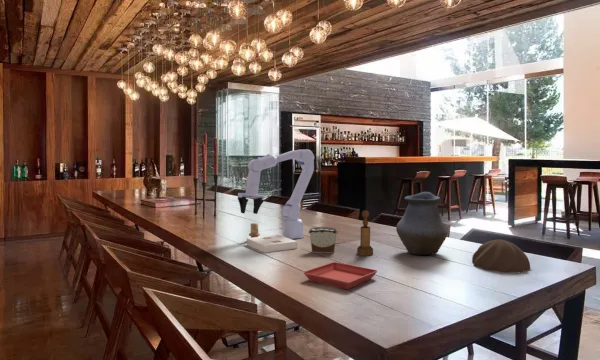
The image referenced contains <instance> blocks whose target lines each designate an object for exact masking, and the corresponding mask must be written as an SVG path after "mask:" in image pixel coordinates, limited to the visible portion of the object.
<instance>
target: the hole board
mask: <svg viewBox="0 0 600 360" xmlns="http://www.w3.org/2000/svg"><path fill="white" fill-rule="evenodd" d="M246 245H247V246H249V247H251V248H253V249H255V250H257V251H260V252H261V253H271V252H280V251H287V250H295V249H298V240H294V239H289V238H286V237H283V236H282V235H279V234H272V235H265V236H258V237H253V238H251V237H247V238H246Z"/></svg>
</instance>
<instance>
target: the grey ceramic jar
mask: <svg viewBox="0 0 600 360" xmlns="http://www.w3.org/2000/svg"><path fill="white" fill-rule="evenodd" d="M404 200H405V201H407V207H406V209H405V211H404V214H403V216H402V218H401V219H400V220H399V221H398V222H397V224H396V227H395V228H396V233H397V235H398V237H399V239H400V241H401V242H402V245H403V246H404V247H405V249H406V251H407V253H409V254H410V255H419V256H429V255H435V254H437V253H438V252H439V250H440V249H441V247H442V246H443V244H444V242H445V241H446V238H447V236H448V230H447V228H446V226H445V224H444V223H443V221H442V218H441V215H440V212H439V206H438V203H439V201H440V200H441V197H440V196H437V195H435V194H433V193H432V192H430V191H421V192H418V193H416V194H412V195H407V196H405V197H404Z"/></svg>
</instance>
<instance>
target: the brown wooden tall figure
mask: <svg viewBox="0 0 600 360" xmlns="http://www.w3.org/2000/svg"><path fill="white" fill-rule="evenodd" d="M369 216H370V212H369V211H368V210H366V209H364V210H362V212H361V217H362V218H363V221H362V225H363V226H360V241H359V244H360V245H359V246H358V247H357V248H356V252H357V253H356V254H357V255H361V256H373V254H374V248H373V247H372V246H371V245H370V244H371V227H370V226H369V221H368V218H369Z"/></svg>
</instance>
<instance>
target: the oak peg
mask: <svg viewBox="0 0 600 360" xmlns="http://www.w3.org/2000/svg"><path fill="white" fill-rule="evenodd" d="M260 235H261V233H260V232H259V223H256V222H252V223H250V232H249V233H248V236H249V237H250V238H253V237H261V236H260Z"/></svg>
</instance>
